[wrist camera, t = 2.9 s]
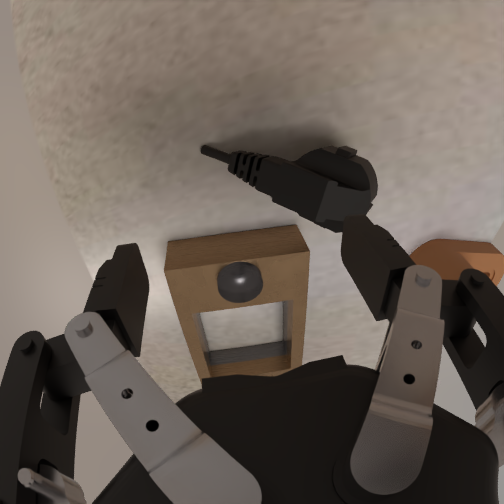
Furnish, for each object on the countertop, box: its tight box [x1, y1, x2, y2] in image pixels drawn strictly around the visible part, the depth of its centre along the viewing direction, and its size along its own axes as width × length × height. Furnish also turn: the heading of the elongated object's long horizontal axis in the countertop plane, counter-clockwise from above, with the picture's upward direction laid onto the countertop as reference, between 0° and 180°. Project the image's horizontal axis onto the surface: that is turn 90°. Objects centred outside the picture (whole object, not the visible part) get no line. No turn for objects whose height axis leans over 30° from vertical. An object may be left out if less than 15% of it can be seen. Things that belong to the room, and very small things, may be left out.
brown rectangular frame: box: [164, 225, 310, 384], centre depth 29 cm, size 16×11×5 cm, turn 4°
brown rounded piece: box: [410, 239, 504, 286], centre depth 31 cm, size 18×8×7 cm, turn 83°
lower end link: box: [196, 300, 288, 365], centre depth 32 cm, size 17×11×3 cm, turn 4°
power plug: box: [201, 145, 378, 233], centre depth 22 cm, size 6×8×12 cm
